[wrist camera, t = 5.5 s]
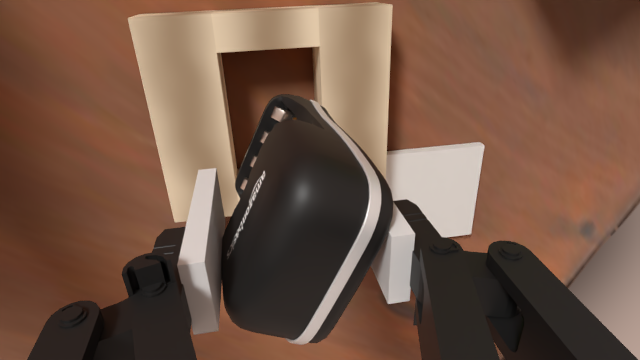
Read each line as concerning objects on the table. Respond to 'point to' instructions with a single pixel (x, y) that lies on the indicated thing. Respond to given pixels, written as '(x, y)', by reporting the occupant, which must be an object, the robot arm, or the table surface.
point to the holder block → (249, 35)
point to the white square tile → (438, 183)
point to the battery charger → (301, 224)
